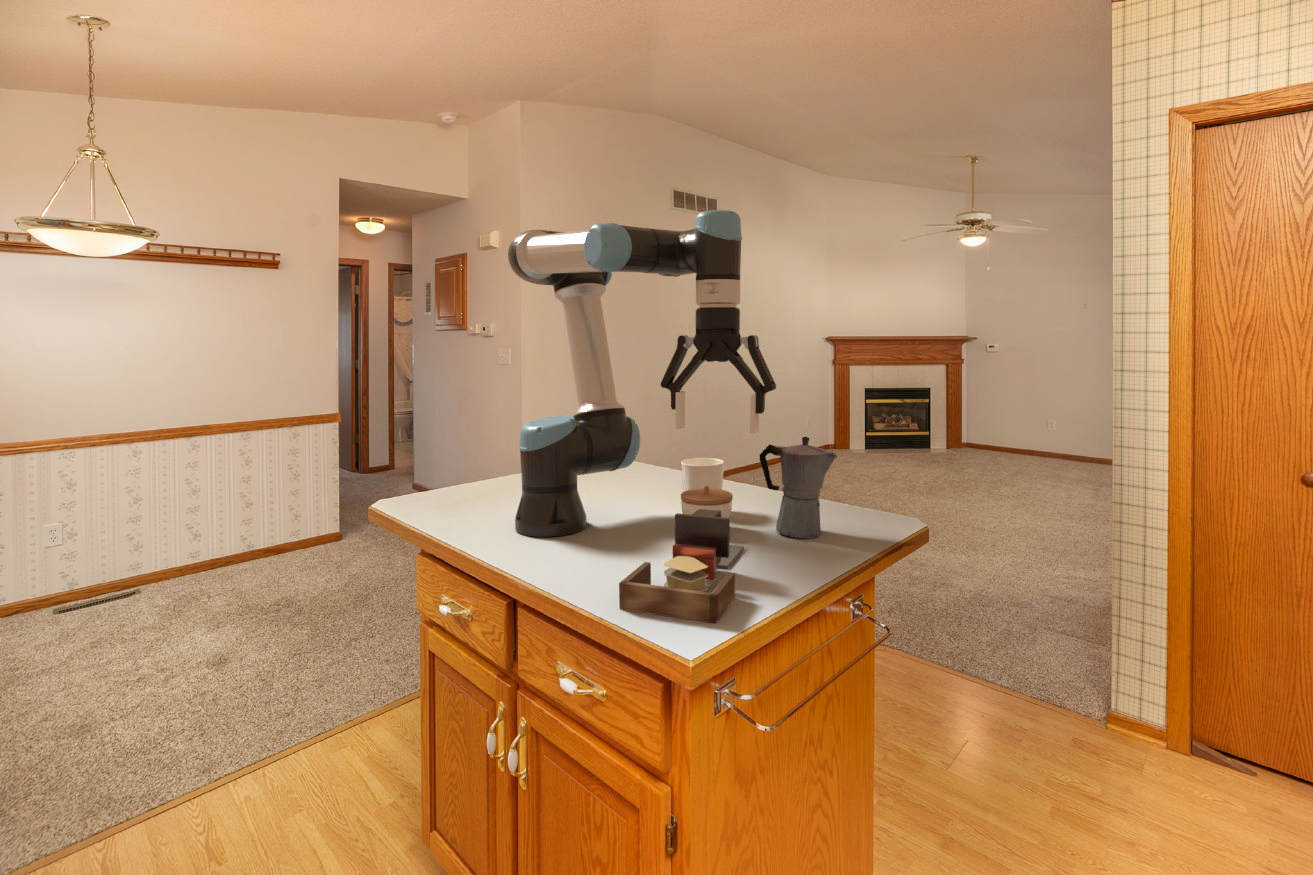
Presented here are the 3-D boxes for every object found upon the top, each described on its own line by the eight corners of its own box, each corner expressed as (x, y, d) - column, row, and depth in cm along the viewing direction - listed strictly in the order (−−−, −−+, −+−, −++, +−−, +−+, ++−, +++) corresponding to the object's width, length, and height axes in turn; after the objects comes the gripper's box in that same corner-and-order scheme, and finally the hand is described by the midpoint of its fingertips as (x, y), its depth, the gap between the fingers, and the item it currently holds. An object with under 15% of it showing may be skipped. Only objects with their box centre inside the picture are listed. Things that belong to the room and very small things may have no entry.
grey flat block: (694, 565, 117) (694, 561, 117) (713, 546, 128) (713, 543, 128) (727, 569, 115) (727, 565, 115) (743, 549, 126) (743, 546, 126)
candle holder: (731, 510, 154) (731, 460, 152) (711, 520, 146) (711, 467, 144) (694, 505, 159) (694, 456, 158) (673, 514, 151) (672, 463, 149)
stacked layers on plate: (728, 599, 103) (728, 565, 102) (687, 615, 97) (687, 579, 96) (683, 581, 110) (683, 550, 110) (643, 596, 105) (642, 562, 104)
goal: (619, 608, 99) (619, 583, 98) (645, 585, 108) (644, 561, 108) (716, 623, 93) (716, 596, 93) (734, 597, 103) (734, 572, 102)
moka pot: (836, 541, 130) (839, 441, 127) (757, 538, 133) (758, 439, 130) (833, 528, 139) (836, 433, 136) (759, 525, 142) (760, 432, 139)
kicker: (666, 574, 109) (666, 521, 107) (684, 557, 117) (684, 507, 116) (720, 581, 105) (720, 526, 104) (735, 562, 114) (735, 512, 113)
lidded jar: (718, 540, 132) (718, 494, 130) (671, 532, 137) (671, 488, 136) (740, 527, 141) (741, 484, 139) (696, 520, 146) (696, 479, 145)
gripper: (641, 307, 114) (642, 429, 118) (785, 304, 104) (782, 437, 108) (659, 308, 121) (659, 423, 124) (795, 306, 111) (792, 431, 115)
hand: (716, 430), depth 116 cm, fingers open, 13 cm apart
